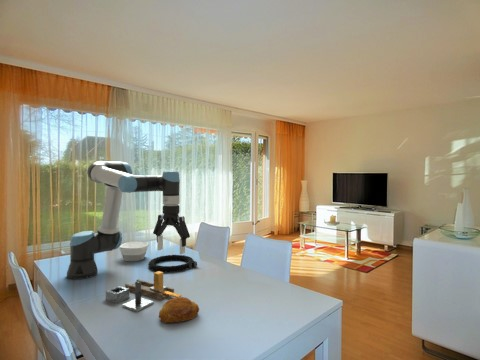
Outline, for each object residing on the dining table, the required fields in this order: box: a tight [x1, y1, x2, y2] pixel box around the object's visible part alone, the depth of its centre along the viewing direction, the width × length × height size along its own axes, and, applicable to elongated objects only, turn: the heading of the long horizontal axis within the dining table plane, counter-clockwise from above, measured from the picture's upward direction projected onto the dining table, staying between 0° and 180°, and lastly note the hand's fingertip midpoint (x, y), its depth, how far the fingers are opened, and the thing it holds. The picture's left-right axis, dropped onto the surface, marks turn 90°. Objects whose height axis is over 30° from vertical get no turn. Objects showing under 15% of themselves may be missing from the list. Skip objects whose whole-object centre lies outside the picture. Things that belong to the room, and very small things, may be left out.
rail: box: [124, 279, 175, 301], centre depth 141 cm, size 24×8×2 cm, turn 61°
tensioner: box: [150, 271, 183, 298], centre depth 135 cm, size 16×5×9 cm, turn 61°
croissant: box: [158, 296, 200, 324], centre depth 117 cm, size 14×16×8 cm
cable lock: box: [148, 254, 198, 273], centre depth 180 cm, size 28×4×30 cm
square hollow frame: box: [105, 285, 130, 304], centre depth 132 cm, size 7×7×4 cm
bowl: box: [119, 241, 150, 262], centre depth 194 cm, size 18×18×9 cm
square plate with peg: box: [121, 280, 154, 313], centre depth 126 cm, size 9×9×10 cm
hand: (171, 251), depth 134 cm, fingers open, 12 cm apart
